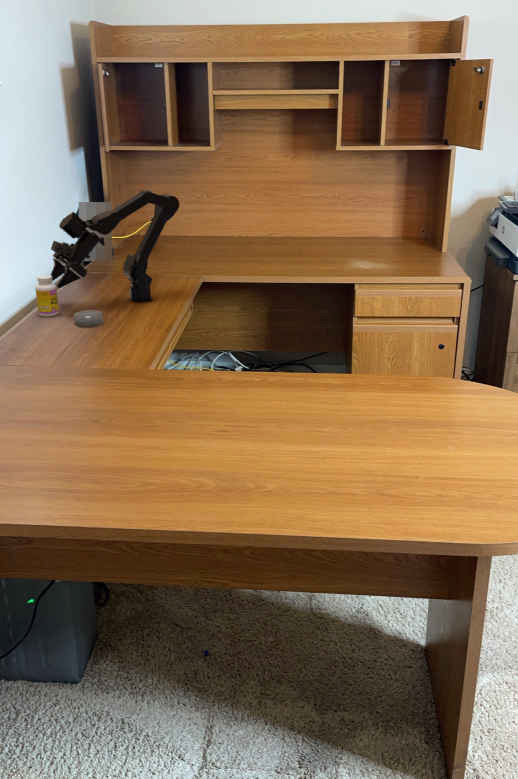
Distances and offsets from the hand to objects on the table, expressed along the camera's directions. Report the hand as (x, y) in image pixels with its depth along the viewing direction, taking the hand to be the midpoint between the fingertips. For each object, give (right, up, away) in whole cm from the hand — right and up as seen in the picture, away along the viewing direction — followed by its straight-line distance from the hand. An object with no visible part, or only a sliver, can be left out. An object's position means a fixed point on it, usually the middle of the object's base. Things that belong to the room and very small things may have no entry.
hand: (53, 284), depth 235 cm
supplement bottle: (-2, -10, +3) cm, 11 cm away
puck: (+13, -13, -6) cm, 20 cm away
